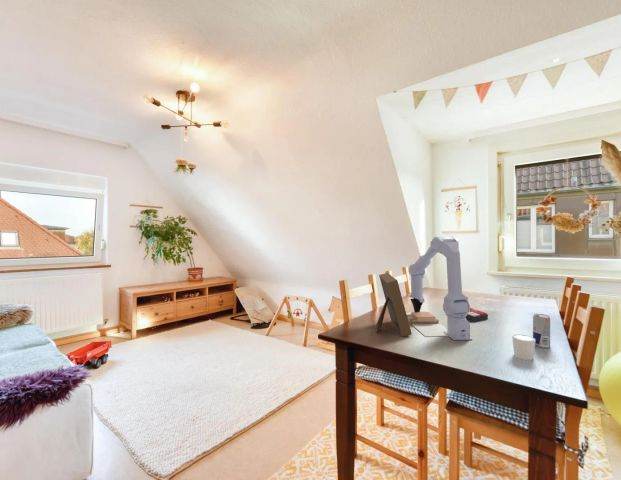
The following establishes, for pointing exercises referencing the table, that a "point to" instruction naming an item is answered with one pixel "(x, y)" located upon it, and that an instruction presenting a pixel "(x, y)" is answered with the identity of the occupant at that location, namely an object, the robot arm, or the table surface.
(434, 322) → the deck
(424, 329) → the mat
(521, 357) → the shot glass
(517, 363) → the table surface
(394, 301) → the photo frame
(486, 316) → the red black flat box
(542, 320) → the energy drink
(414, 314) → the tile
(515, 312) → the table surface
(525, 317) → the table surface
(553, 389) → the table surface
